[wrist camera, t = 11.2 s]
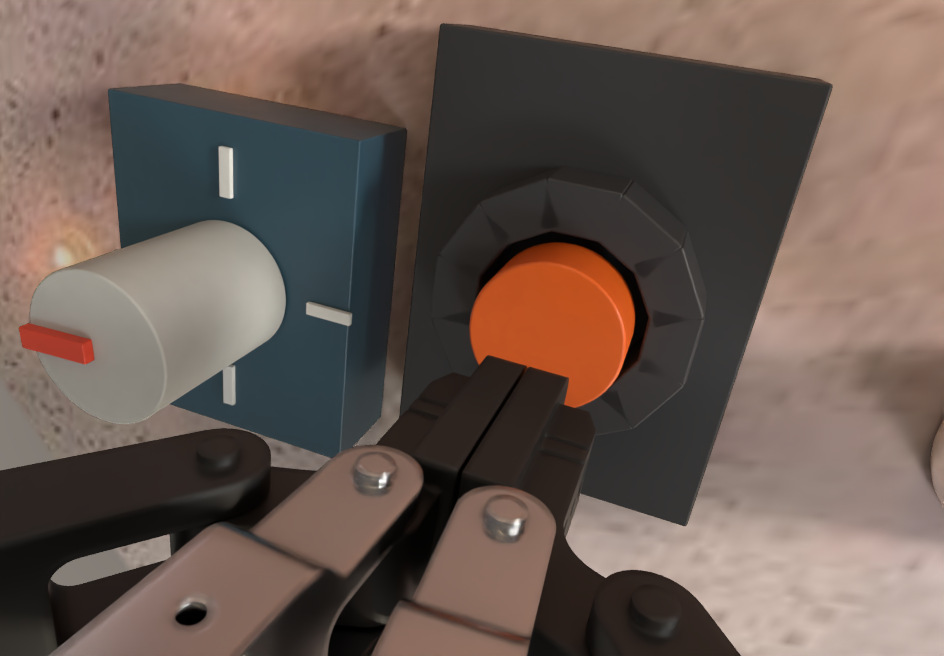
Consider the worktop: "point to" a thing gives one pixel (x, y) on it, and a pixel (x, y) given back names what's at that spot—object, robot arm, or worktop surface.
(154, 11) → the worktop surface
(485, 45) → the orange push button panel
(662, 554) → the worktop surface
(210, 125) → the knob panel
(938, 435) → the silver metal cup
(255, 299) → the dial
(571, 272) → the button
